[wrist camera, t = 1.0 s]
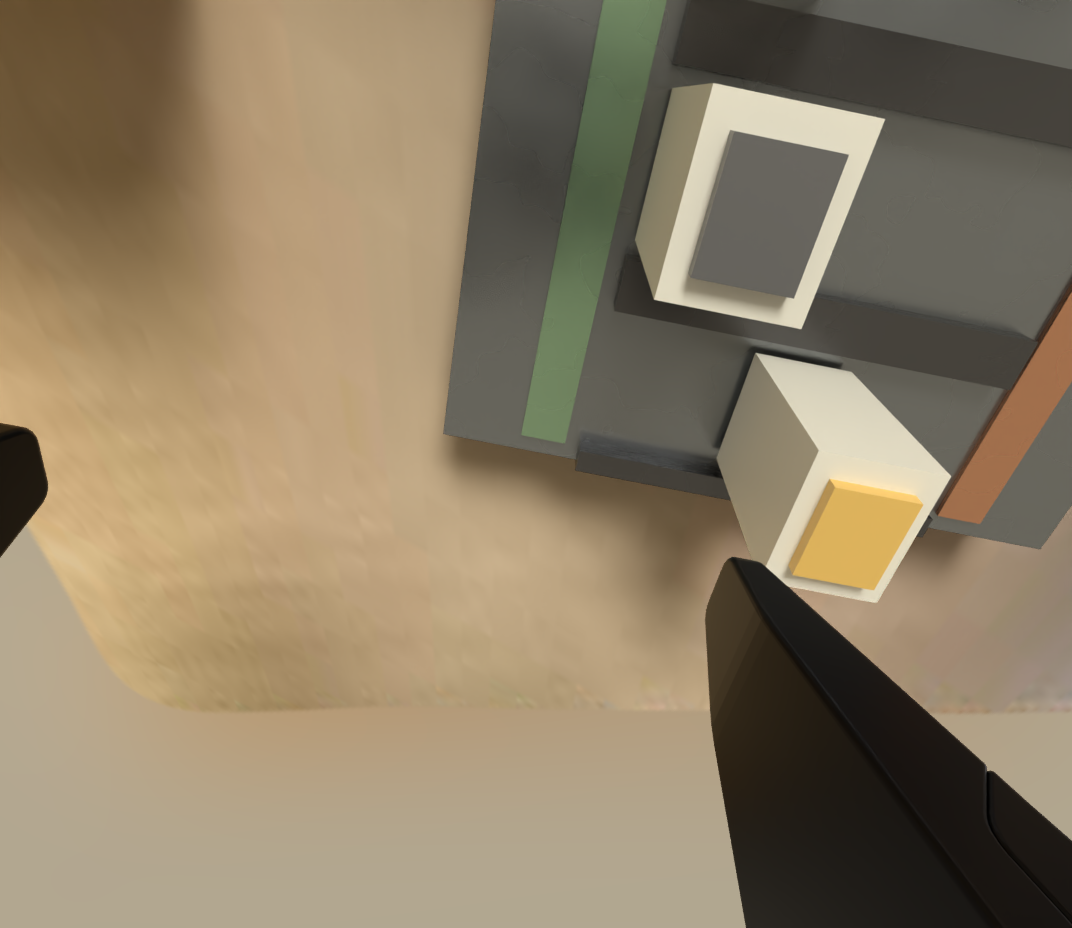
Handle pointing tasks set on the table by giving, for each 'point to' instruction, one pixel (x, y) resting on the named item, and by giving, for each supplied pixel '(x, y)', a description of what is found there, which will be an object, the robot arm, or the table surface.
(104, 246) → the table surface
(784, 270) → the block
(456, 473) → the table surface
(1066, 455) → the breaker panel
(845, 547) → the block
